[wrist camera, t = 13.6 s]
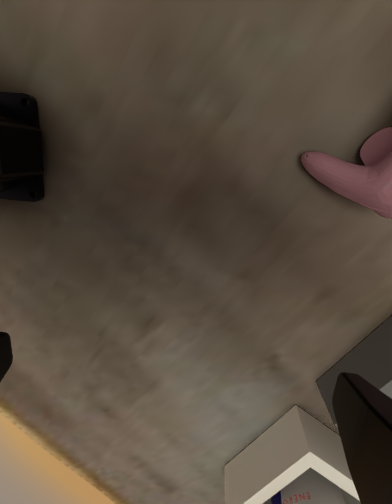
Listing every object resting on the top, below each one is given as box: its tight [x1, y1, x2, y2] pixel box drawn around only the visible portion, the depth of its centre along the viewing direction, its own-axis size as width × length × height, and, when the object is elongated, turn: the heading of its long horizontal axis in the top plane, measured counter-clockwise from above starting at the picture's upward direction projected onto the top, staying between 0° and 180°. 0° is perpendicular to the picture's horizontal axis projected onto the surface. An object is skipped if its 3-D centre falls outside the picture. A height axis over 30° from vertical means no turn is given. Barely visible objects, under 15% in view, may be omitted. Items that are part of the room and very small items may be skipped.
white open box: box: [225, 405, 361, 504], centre depth 24 cm, size 9×9×4 cm
